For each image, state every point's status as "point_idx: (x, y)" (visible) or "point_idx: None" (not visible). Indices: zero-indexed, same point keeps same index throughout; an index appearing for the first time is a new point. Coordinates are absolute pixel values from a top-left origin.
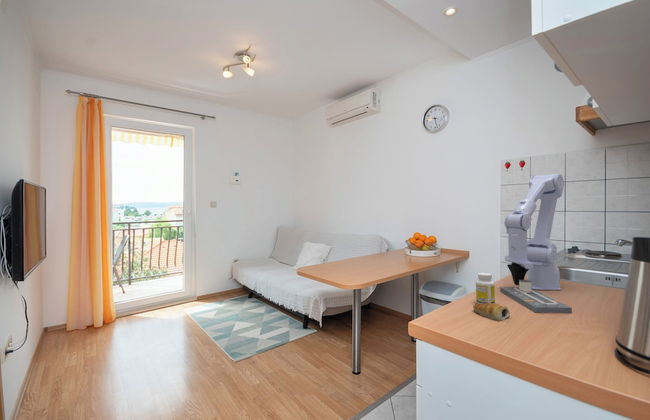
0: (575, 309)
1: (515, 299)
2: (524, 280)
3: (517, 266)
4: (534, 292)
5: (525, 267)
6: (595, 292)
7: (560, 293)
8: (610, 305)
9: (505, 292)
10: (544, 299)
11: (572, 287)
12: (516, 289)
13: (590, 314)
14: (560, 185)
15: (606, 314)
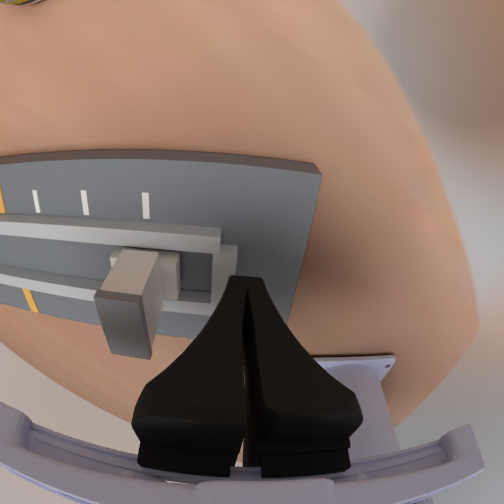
0: (34, 322)
1: (82, 151)
2: (117, 326)
3: (140, 436)
4: None
5: (4, 414)
6: (241, 445)
7: None
8: (113, 410)
9: (226, 158)
10: (24, 272)
11: None
12: (172, 233)
13: (7, 323)
14: None
15: (26, 354)
